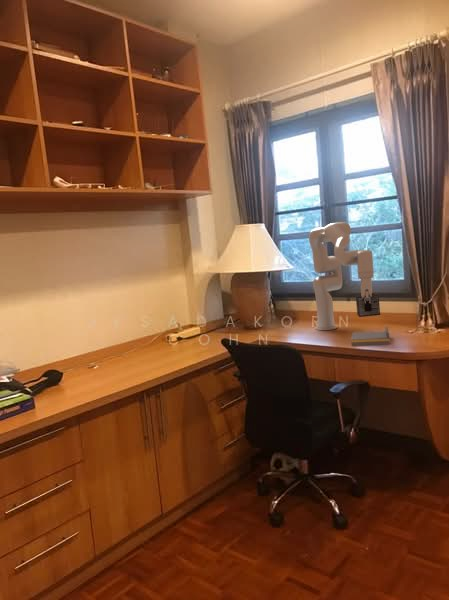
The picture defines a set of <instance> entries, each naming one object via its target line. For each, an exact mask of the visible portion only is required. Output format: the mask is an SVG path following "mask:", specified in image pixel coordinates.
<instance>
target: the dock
mask: <svg viewBox="0 0 449 600" xmlns="http://www.w3.org/2000/svg"><path fill="white" fill-rule="evenodd" d="M384 328H385V329H384V331H362V332H360V331H359V332H358V331H357V332H352V333H351V339H350V340H351V346H373V345H374V346H375V345H390V344H391V343H390V342H391V341H390V331H389V327H388V326H385V327H384Z"/></svg>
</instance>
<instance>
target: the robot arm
mask: <svg viewBox="0 0 449 600" xmlns="http://www.w3.org/2000/svg"><path fill="white" fill-rule="evenodd" d="M351 233H352V229H351V225H350V224H349V223H348V222H345V221H341V222H340V221H339V222H332V223H329V224H327V225H326V226H324V227H316V228H314V229H312V230H311V231H310V232H309V235H308V241H309V245H310V248H311V252H312V260H313V261H312V262H313V269H314V272H315V273H317V274H319V275H320V276H316V277H315V278H314V279H313V281H312V286H313V291H314V295H315V296H314V297H315V302H316V304H315V305H316V313H317V315H316V316H317V325H316V326H315V329H316V330H317V331H329V330H336V329H337V328H338V325H337V324H335V317H334V314H335V313H334V306H333V305H334V303H333V298H332V295H331V294H330V293H329V292H332V291H338V290H340V289H341V288H342V287H343V274H342V266H344V267H350V266H357V278H358V280H360V295H361V296H362V298H363V297H365V296H366V297H365V304H364V305H365V312H367V311H372V309H371V302H370V298H371V297H372V294H373V282H372V281H373V278H374V277H375V276H374V261H373V260H374V259H373V252H372V251H371V250H370V249H368V250H367V249H365V250H363V249H357V250H356V249H355V250H348V251H345V250H344V249H346V248H347V247H348V246H349V244H350V243H351V241H350V240H351V239H350V237H349V236H350V235H351ZM328 242H331V243H332V245H333V247H334V248H333V253H334V255H330V256H328V249H327V247H326V245H325V244H324V243H328ZM327 273H328V274H327ZM329 273H330V274H329ZM321 274H324V275H321ZM325 274H326V275H325ZM368 296H369V297H368Z"/></svg>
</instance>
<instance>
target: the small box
mask: <svg viewBox="0 0 449 600" xmlns="http://www.w3.org/2000/svg"><path fill="white" fill-rule="evenodd" d="M365 297H366V296H365ZM365 297H363V298H362V296H361V294H357V295H355V301H356V313H357V316H358V317H359V318H362V317H363V318H364V317H365V318H366V317H371V316H372V317H373V316H381V308H380V307H381V306H380V295H379V294H378V293H372V297H371V298H370V302H371V309H372V311H367V312H365V305H364V304H365ZM368 297H369V296H368Z"/></svg>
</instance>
